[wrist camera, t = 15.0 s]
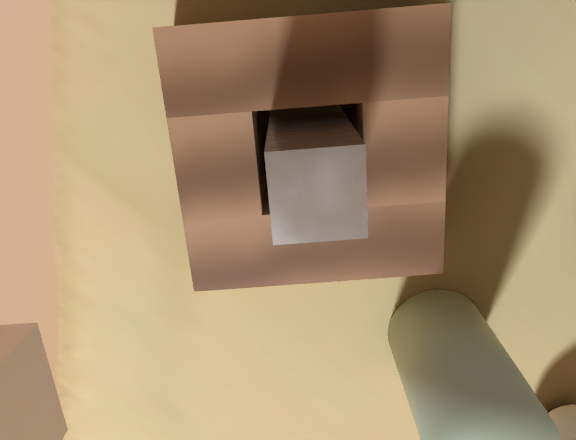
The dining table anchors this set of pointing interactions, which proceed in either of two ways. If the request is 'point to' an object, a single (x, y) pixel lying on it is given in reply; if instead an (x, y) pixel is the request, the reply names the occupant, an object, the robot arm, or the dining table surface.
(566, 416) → the ornament
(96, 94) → the dining table surface
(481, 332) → the round peg
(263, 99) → the socket block
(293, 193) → the square peg
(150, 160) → the dining table surface
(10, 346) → the robot arm
